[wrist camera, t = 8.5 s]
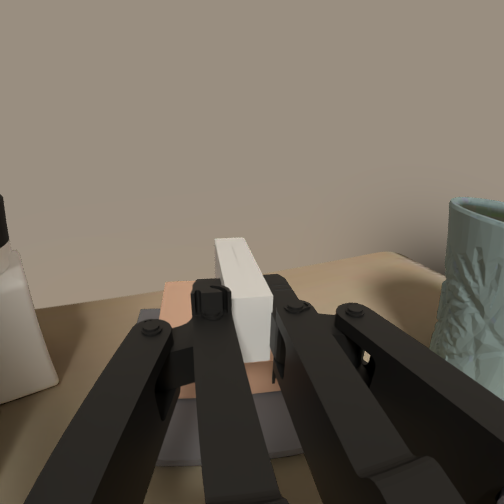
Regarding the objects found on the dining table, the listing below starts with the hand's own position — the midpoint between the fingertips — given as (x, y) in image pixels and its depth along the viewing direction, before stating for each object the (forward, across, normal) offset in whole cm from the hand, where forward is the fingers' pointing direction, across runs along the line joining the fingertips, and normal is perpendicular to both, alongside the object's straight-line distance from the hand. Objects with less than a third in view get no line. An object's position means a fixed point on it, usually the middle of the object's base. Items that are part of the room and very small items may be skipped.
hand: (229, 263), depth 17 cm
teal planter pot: (-4, +17, -8) cm, 19 cm away
